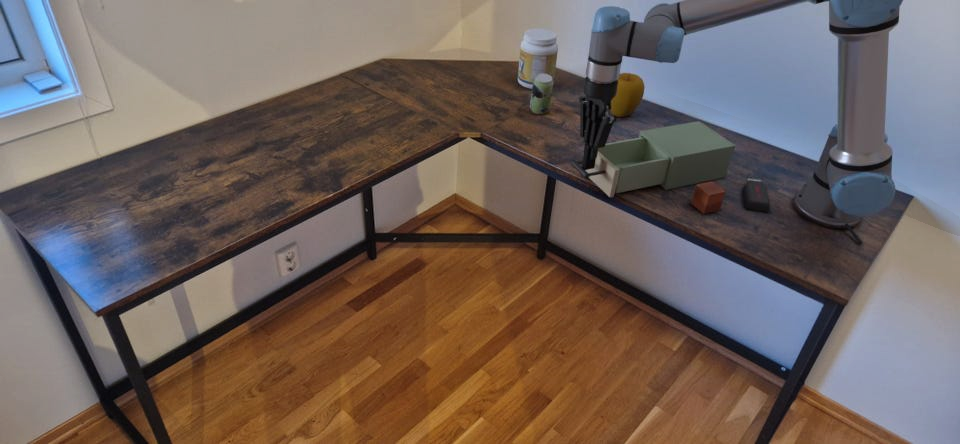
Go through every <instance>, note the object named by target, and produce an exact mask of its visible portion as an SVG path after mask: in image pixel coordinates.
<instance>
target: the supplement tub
mask: <svg viewBox="0 0 960 444" xmlns="http://www.w3.org/2000/svg"><path fill="white" fill-rule="evenodd" d="M557 36H558V35H557V33H556V32H554V31H553V30H550V29H546V28H530V29H529V28H528V29H526V30H525V31H524V35H523V40H522V41H521V43H520V48H519V57H518V58H519V59H518V69H517V70H518V72H517V82H518V84H519V85H521V86H522V87H524V88H527V89H531V90H532V87H533V80H534V78H535V77H536V76H537V75H538V74H541V73H544V74H548V75H550V76H551V77H552V80H553V84H554V83H555V74H556V68H557V60H558V54H559V53H558V52H559V45H558V43H557V40H558V39H557V38H558V37H557Z"/></svg>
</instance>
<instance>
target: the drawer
mask: <svg viewBox="0 0 960 444" xmlns="http://www.w3.org/2000/svg"><path fill="white" fill-rule="evenodd" d="M670 162H671V158H670V157H669V156H667V155H666V154H665V153H664V152H662V151H661V150H660V149H658V148H657V147H656V146H655V145H653V144H652V143H651V142H649V141H648V140H647V139H646V138H644V137H640V138H639V137H635V138H629V139H624V140H618V141H613V142H606V145H605V147H602V148H598V153H597V158H596V161H595V167H594V168H593V169H588V170H584V169H583V168H582V163H583V159H582V160H581V159H580V160H577V161H576V160H574V159H572V160H571V161H570V165H571V166H572V167H573V168H574V169H575V170H576V171H577V172H578V173H579V174H580V175H581V176H582V177H583V178H584V179H586V180H587V179H590V180H591V181H592V182H593V183H594V184H595V185H596V186H597V187H598V188H599V189H600V190H601V191H603V192H604V194H606V195H607V197H609V198H614V197H615V193H616V194H619V193H625V192H629V191H634V190H639V189H642V188H649V187H653V186H658V185H659V184H663V183H665V182H666V178H667V174H668V170H669V166H670ZM580 164H581V165H580Z"/></svg>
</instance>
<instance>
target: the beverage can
mask: <svg viewBox="0 0 960 444" xmlns="http://www.w3.org/2000/svg"><path fill="white" fill-rule="evenodd" d="M553 88H554V83H553V80H552V77H551V76H550V75H548V74H544V73H541V74H538V75H537V76H536V77H535V78H534V80H533V87H532V89H531V95H530V101H529V110H530V111H531V112H532V113H534V114H537V115H544V114H546V113H548V112H549V111H550V107H551V100H552V94H553Z"/></svg>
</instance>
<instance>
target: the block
mask: <svg viewBox="0 0 960 444" xmlns="http://www.w3.org/2000/svg"><path fill="white" fill-rule="evenodd" d="M726 193H727V192H726V190H725V189H723V188H722V187H720V186H719V185H718V184H716V182H714V180H710V181H705V182H701V183H696V184H695V187H694V191H693V194H692V198H691V200H690V204H691V206H694V207H695V208H696V209H697V210H698V211H699V212H701V213H702V214H703V215H704V214H709V213H713V212H718V211H720V210H721V208H722V204H723V201H724V199H725V195H726Z"/></svg>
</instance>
